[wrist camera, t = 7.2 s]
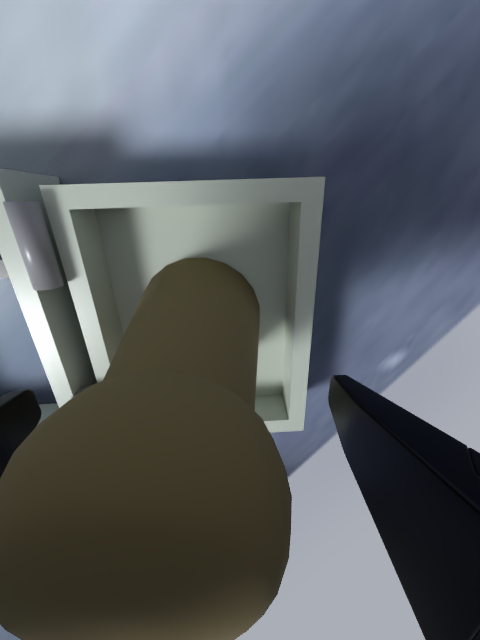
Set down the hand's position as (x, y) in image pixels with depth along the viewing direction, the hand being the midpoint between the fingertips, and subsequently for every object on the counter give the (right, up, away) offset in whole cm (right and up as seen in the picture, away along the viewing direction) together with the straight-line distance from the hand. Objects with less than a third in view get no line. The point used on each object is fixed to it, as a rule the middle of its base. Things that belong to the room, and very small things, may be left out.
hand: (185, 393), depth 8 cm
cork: (0, +3, +6) cm, 6 cm away
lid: (0, +3, +6) cm, 7 cm away
